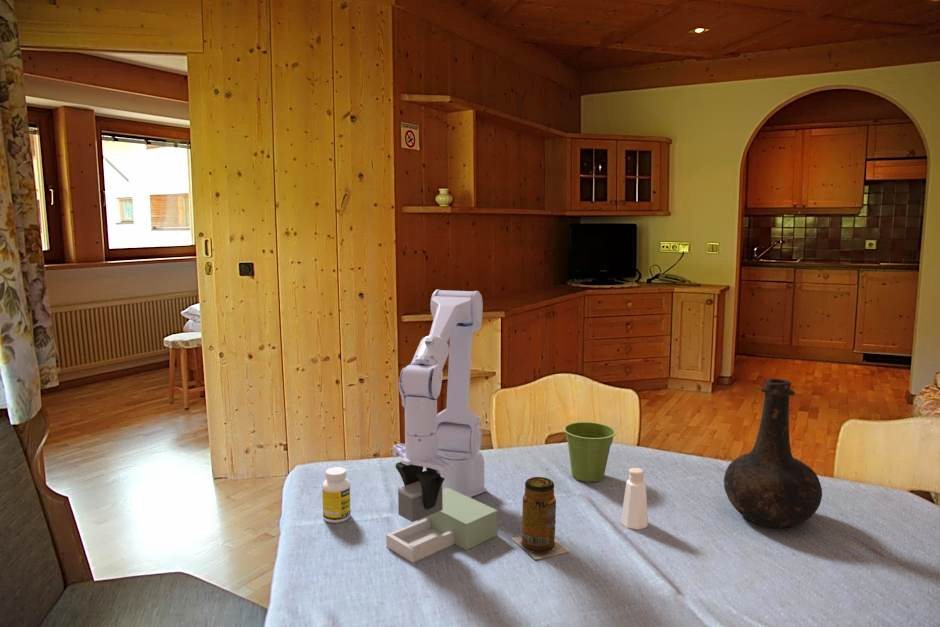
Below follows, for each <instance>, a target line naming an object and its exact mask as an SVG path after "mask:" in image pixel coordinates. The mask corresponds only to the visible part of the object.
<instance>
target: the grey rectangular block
mask: <svg viewBox="0 0 940 627" xmlns="http://www.w3.org/2000/svg"><path fill="white" fill-rule="evenodd" d="M397 493H398V494H397V495H398V498H397V499H398V501H397V502H398V503H397V504H398V516H401V517H402V518H403V519H406V520H408V521H409V522H411V523H415V522H417V520H419V519H422V518H424V517H427V516H429V515H431V514H434V513H436V512H439V511H441V510H443V504H442V485H441V488H440V490H439V493H438V497H437V501H436V505H435V507H432V508H430V509H425V508H424V504H423V493H422V488H421V484H420V481H417V482H415V483H412V484H409V485H406V486H405V485H404V486H402V487H399V488H397Z"/></svg>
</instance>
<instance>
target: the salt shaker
mask: <svg viewBox="0 0 940 627" xmlns="http://www.w3.org/2000/svg"><path fill="white" fill-rule="evenodd" d="M628 472H629V477H628V478H629V479H627V480H626V484H625V490H624V496H623V504H622V510H621V517H620V524H621V525H622V526H624V527H626V528H627V529H632V530H643V529H646V528H648V524H649V517H648V515H649V514H648V503H647V502H648V500H647V499H648V498H647V485H646V482H645V481H644V474H645V471H644V469H642V468H639V467H631V468H630V469H629V470H628Z"/></svg>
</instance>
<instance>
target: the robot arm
mask: <svg viewBox="0 0 940 627" xmlns="http://www.w3.org/2000/svg"><path fill="white" fill-rule="evenodd" d="M483 302H484V301H483V297H482V294H481V293H480V291H479V290H474V291H473V290H471V291H470V290H469V291H468V290H467V291H466V290H443V289H442V290H441V289H440V288H439V289H435V291H434V292H433V293H432V294H431V298H430V313H431V315H432V320H433V321H432V324H431V328H430V331H429V334H428V335H427V336H424V337H422V339H421V340H420V342H419V344H418V346H417V348H416V351H415V353H414V355H413V358H412V360H411V362H410V364H408V365H406V366H405V367H403V368H402V369H401V371H400V375H399V380H398V381H399V382H398V391H399V395H400V397H401V406H402V407H403V408H404V438H405V439H404V440H405V442H404V443H401V442H400V443H397V444H394V445H392V456H393V457H400V458H401V459H400V462H396V463H395V468H396V470H397V472H398V474H399V476H400V478H401V479H402V482H403V485H404V486H406V485H409V484H412V483H415V482H417V481H420V484H421V488H422V493H423V504H424V508H425V509H430V508H432V507H435V505H436V501H437V497H438V493H439V490H440V488H441V485H442V490H443V489H445V488H450V489H452V490H454V491H457V492H459V493H461V494H463V495H465V496H467V497H470V498H473V497H475V496H477V495H480V494H483V493H484V492H487V491H488V488H487V487H485V474H486V473H485V471H486V470H485V467H486V466H485V459H484V457H483V454H482V452H481V451H480V450H481V446H482V440H483V437H482V436H483V435H482V434H483V432H482V421H481V418H480V417H479V415H477V413H475V412H474V411H473V410H472V409H471V408H470V405H469V404H470V389H471V388H470V387H471V370H472V369H471V368H472V364H471V363H472V350H473V349H472V347H473V346H472V345H473V338H474V337H473V336H474V332H477V331H479V330H481V329H482V328H481V327H482V325H483V310H484V309H483V308H484V307H483V305H484V304H483ZM448 341H449V344H448ZM447 358H448V359H447ZM447 360H448V369H447V370H448V373H447V387H446V388H447V390H446V392H447V393H446V394H447V395H446V408H445V409H443V410H442V411H440V412H438V398H439V397H440V394H441V391H442V382H443V378H444V373H443V372H444V371H443V369H444V366H445V364H446V362H447ZM424 468H425V470H424ZM423 470H424V471H423Z"/></svg>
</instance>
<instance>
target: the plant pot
mask: <svg viewBox="0 0 940 627" xmlns="http://www.w3.org/2000/svg"><path fill="white" fill-rule="evenodd" d="M562 430H563V432H564V433H565V435H566V436H565V437H566V442H567V445H568V454H569V461H570V470H571V476H572V477H574V478H575V479H576V480H577V481H581V482H586V483H593V482H595V481H602V480H603V479H604V477H605V473H606V469H607V463H608V458H609V453H610V450H611V445H612V444H613V440H614V437H615V436H616V435H617V430H616V428H613V427H612V426H610V425H608V424H605V423H600V422H595V421H575V422H570V423H568V424H566V425H564V426H563V429H562Z"/></svg>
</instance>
